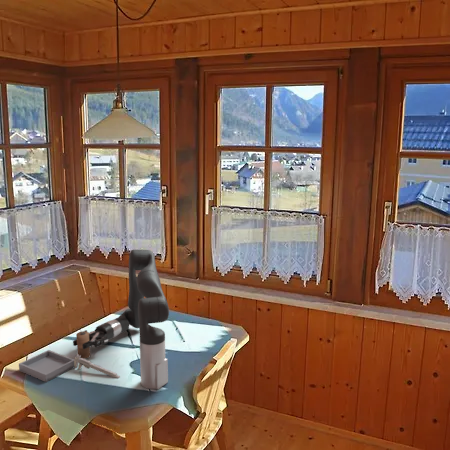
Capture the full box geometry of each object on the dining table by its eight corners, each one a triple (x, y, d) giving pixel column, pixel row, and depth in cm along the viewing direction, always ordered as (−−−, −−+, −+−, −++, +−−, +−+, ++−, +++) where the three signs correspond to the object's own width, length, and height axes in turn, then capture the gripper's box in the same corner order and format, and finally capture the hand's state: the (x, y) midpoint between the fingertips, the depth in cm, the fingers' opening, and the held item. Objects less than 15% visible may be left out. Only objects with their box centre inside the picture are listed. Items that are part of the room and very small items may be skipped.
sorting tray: (75, 366, 190) (75, 359, 189) (46, 382, 178) (45, 374, 178) (49, 356, 198) (48, 349, 197) (19, 370, 186) (18, 363, 186)
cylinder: (92, 355, 199) (91, 332, 197) (83, 360, 195) (82, 337, 193) (84, 352, 202) (83, 330, 200) (75, 357, 198) (73, 334, 196)
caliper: (74, 369, 189) (73, 354, 187) (76, 367, 190) (75, 353, 188) (118, 378, 182) (118, 363, 180) (120, 377, 183) (119, 362, 181)
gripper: (96, 319, 212) (65, 332, 198) (120, 326, 205) (90, 340, 191) (97, 334, 214) (66, 349, 199) (120, 342, 206) (91, 358, 192)
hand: (78, 345), depth 195 cm, fingers closed on cylinder, 5 cm apart
